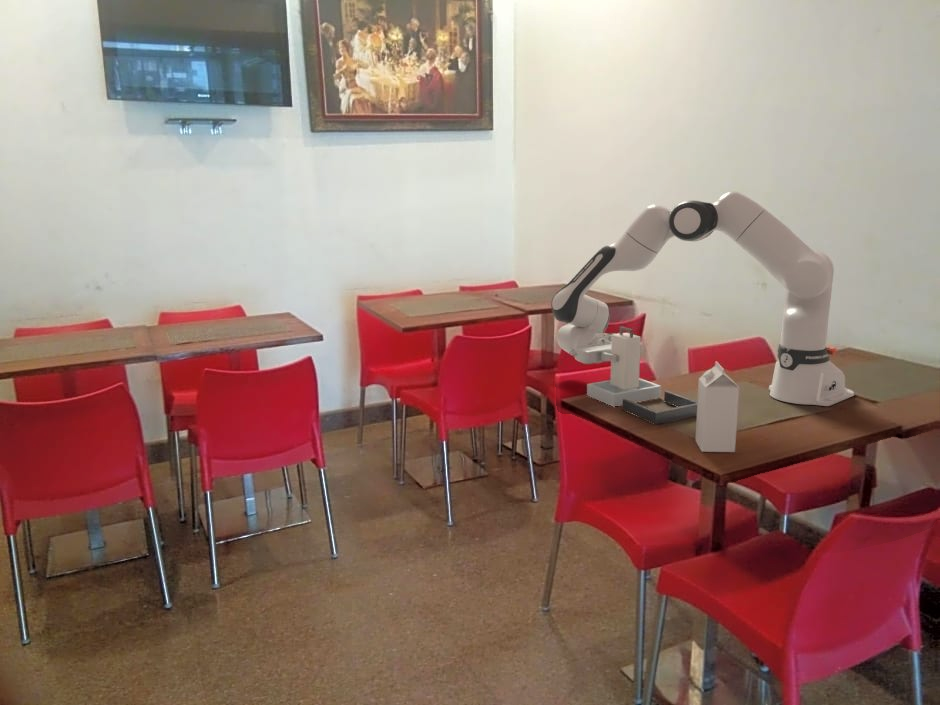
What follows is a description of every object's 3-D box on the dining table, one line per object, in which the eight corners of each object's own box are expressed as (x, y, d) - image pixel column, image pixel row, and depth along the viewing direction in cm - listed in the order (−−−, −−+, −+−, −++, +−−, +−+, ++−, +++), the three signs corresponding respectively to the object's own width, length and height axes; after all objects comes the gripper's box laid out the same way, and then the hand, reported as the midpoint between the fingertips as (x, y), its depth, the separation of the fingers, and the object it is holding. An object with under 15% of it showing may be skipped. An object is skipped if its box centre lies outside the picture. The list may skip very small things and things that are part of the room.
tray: (632, 387, 207) (633, 375, 206) (660, 398, 197) (661, 385, 196) (587, 395, 200) (587, 383, 200) (613, 407, 190) (613, 394, 189)
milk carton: (727, 441, 164) (732, 361, 160) (735, 453, 157) (740, 369, 153) (695, 441, 165) (699, 361, 160) (701, 452, 158) (706, 369, 154)
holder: (667, 401, 194) (667, 390, 193) (702, 414, 183) (702, 403, 182) (622, 410, 188) (622, 399, 187) (655, 424, 176) (656, 413, 176)
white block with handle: (624, 381, 201) (626, 325, 197) (638, 386, 196) (641, 329, 192) (610, 384, 199) (612, 327, 195) (623, 389, 194) (626, 331, 190)
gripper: (565, 340, 202) (595, 350, 190) (624, 332, 211) (655, 341, 199) (565, 362, 204) (594, 373, 192) (623, 353, 212) (655, 363, 200)
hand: (626, 357), depth 195 cm, fingers closed on white block with handle, 5 cm apart
